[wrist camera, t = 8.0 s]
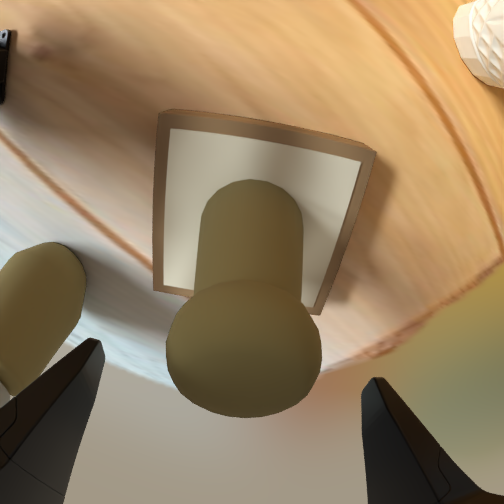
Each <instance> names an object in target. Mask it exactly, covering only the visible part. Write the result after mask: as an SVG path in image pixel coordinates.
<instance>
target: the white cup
mask: <svg viewBox="0 0 504 504" xmlns="http://www.w3.org/2000/svg"><path fill="white" fill-rule="evenodd" d="M453 32H454V40H455V43H456V45H457V48H458V51H459V54H460V57H461V59H462V60H463V61H464V63H465V64H466V66H467V67H468V68H469V70H470V71H471V73H472V74H473V75H474V76H476V77H477V78H478V79H480V80H481V81H483V82H484V83H485V84H487V85H490V86H494V87H499V88H503V89H504V0H474V1H471V2H468V3H466V4H463V5H461V6H459V8H458V10H457V12H456V14H455V16H454V18H453Z"/></svg>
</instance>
